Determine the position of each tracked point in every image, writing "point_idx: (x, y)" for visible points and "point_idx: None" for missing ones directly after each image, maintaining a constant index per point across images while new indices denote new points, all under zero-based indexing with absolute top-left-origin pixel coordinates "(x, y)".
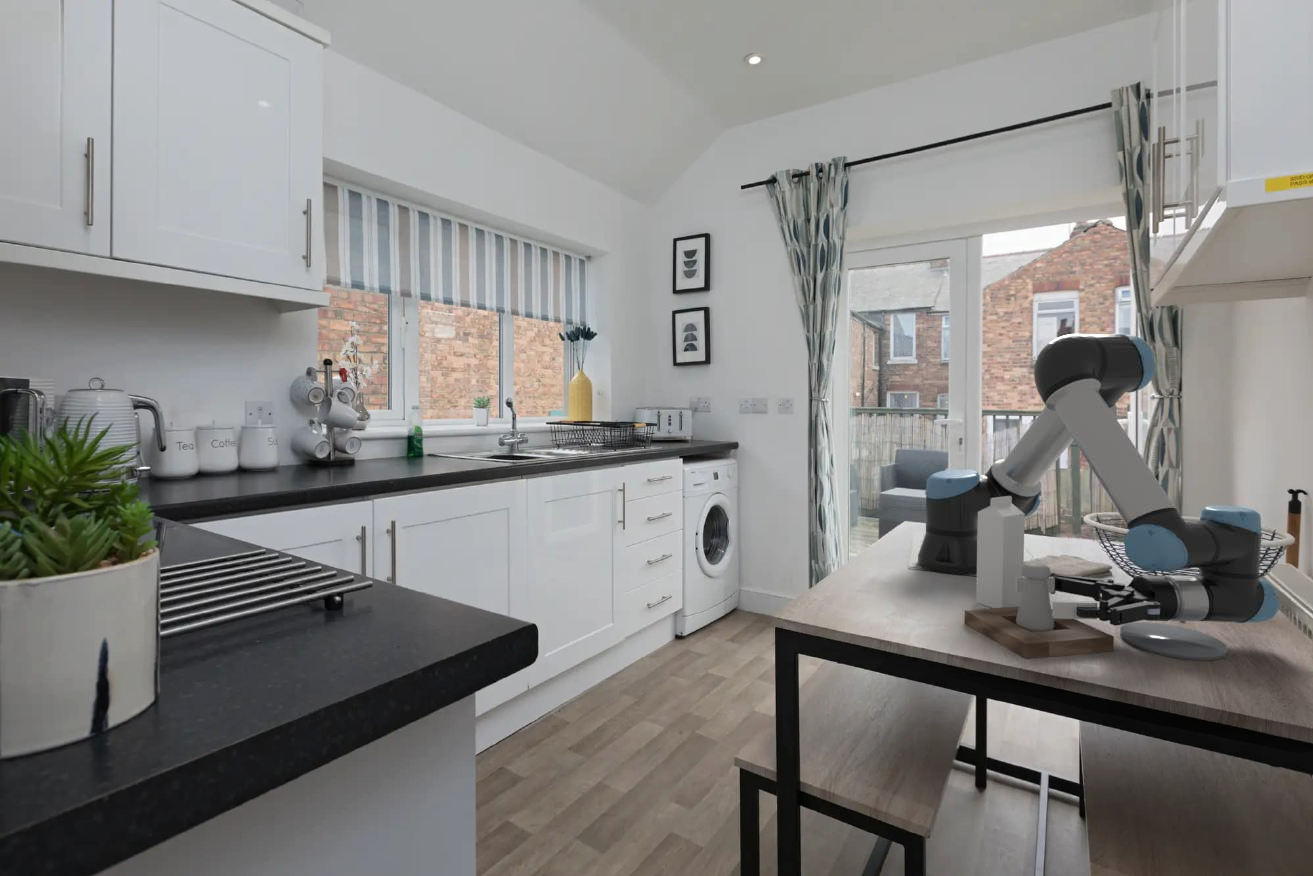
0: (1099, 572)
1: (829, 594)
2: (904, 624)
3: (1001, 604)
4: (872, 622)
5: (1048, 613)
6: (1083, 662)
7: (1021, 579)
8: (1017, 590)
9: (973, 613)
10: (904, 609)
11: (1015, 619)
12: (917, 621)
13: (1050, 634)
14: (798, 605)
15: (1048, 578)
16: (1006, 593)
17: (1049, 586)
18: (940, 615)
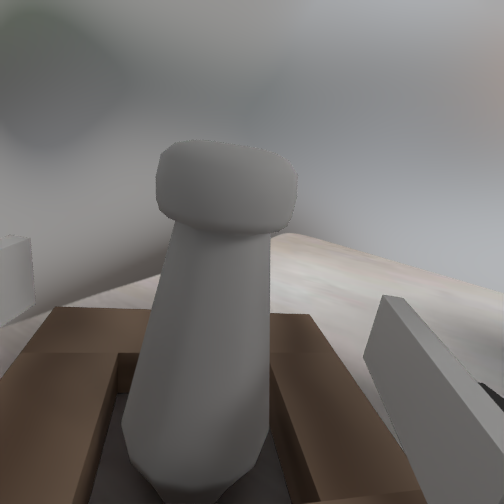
0: None
1: (399, 268)
2: (282, 280)
3: None
4: (286, 263)
5: (138, 377)
6: None
7: (386, 311)
8: (366, 351)
9: (286, 317)
10: (364, 303)
11: (278, 407)
12: (300, 295)
13: (65, 389)
14: (336, 244)
15: (166, 214)
16: None
17: (454, 484)
18: (348, 331)
